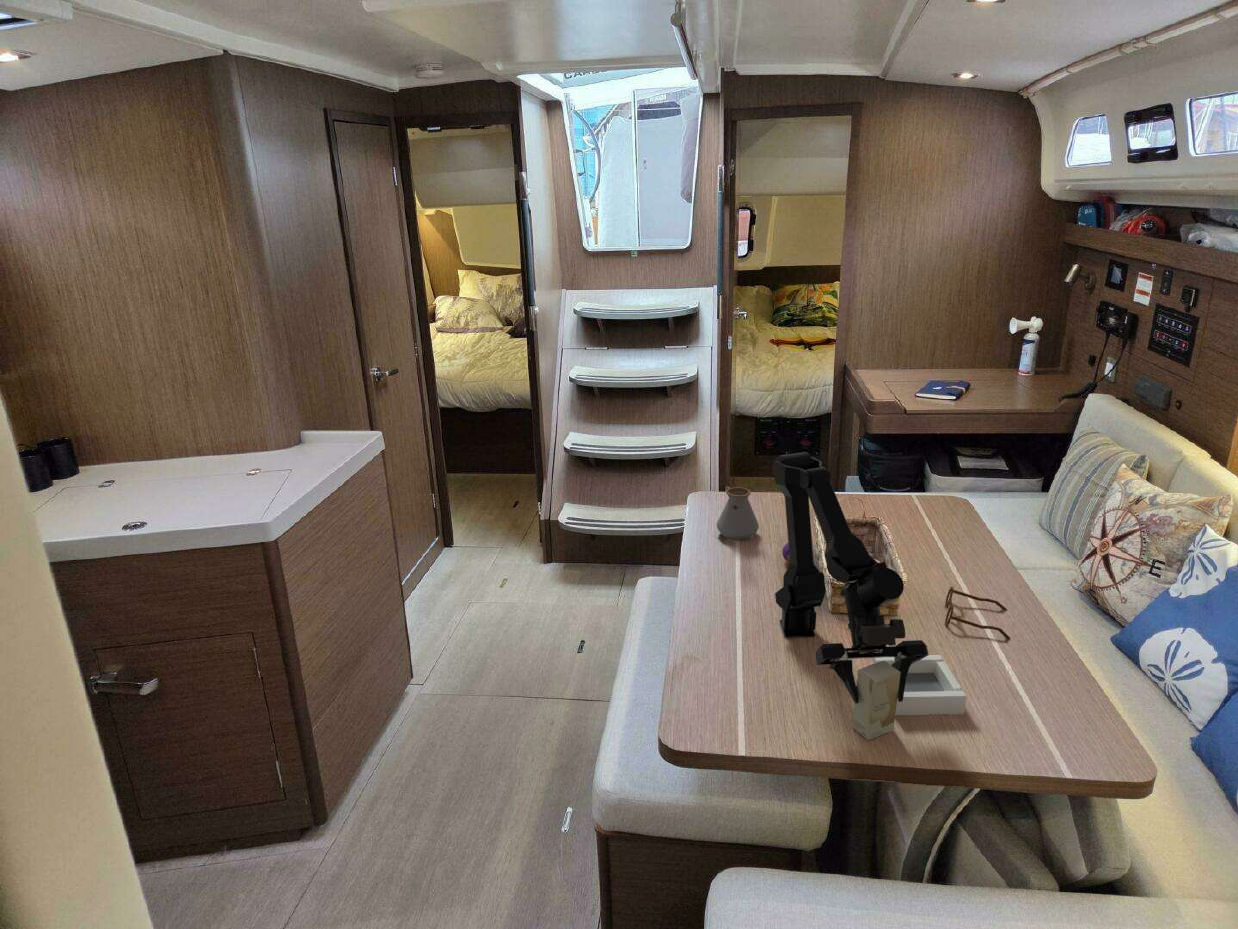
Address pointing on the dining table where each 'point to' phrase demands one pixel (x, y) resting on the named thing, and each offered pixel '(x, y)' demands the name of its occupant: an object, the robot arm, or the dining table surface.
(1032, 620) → the dining table surface
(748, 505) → the grey conical vessel
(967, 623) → the glasses
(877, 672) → the skincare box
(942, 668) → the socket block
